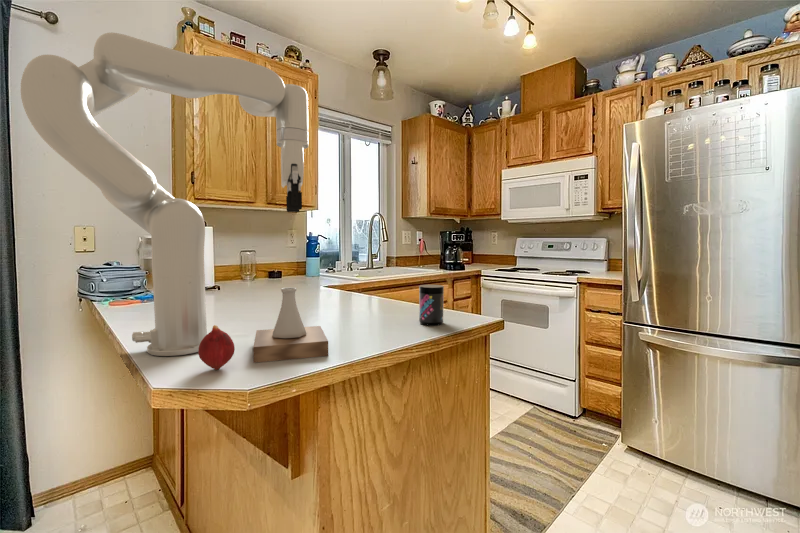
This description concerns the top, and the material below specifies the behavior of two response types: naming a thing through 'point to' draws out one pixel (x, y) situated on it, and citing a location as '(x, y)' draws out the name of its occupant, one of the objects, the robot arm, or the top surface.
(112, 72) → the robot arm
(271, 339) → the block
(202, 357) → the onion
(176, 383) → the top surface
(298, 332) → the flask
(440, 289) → the supplement container
